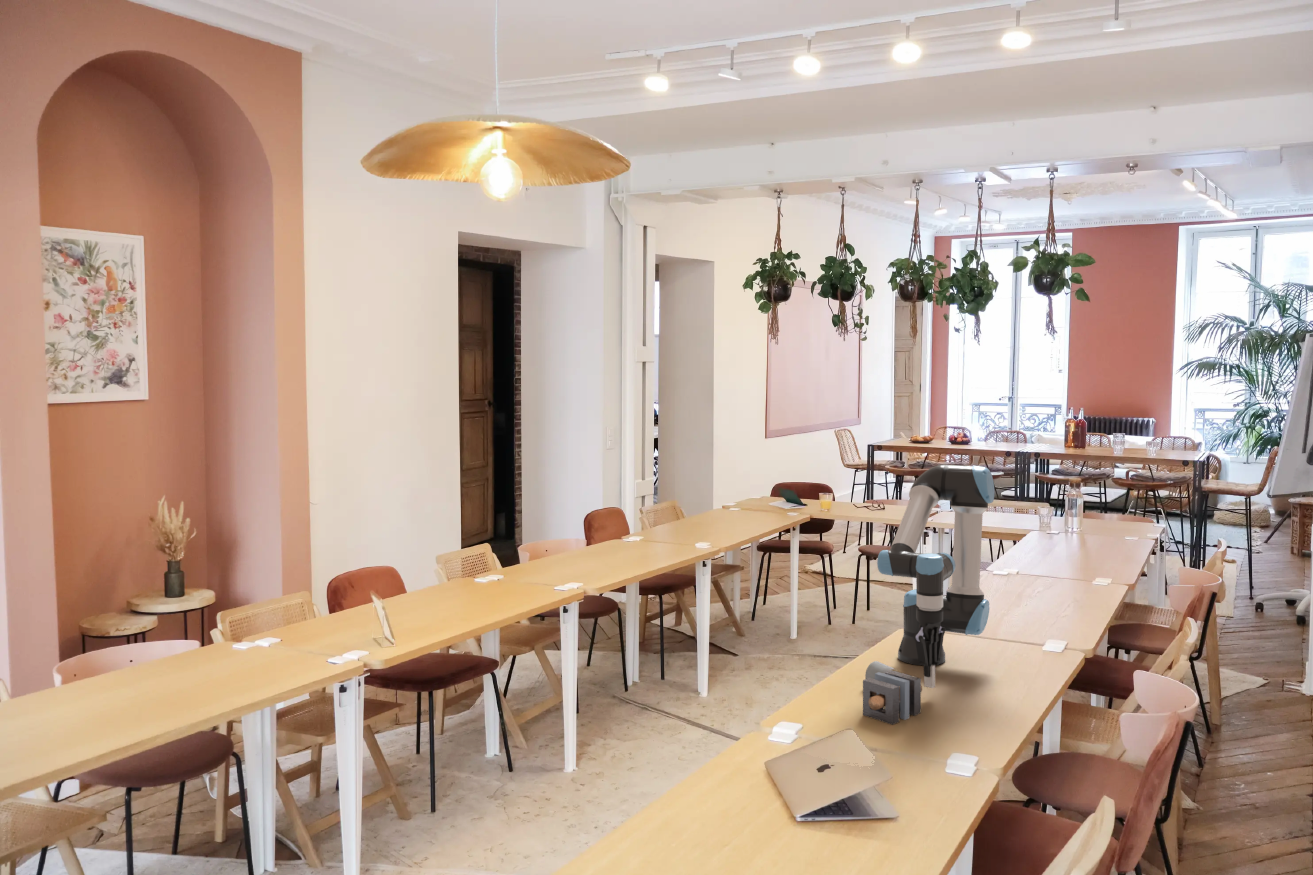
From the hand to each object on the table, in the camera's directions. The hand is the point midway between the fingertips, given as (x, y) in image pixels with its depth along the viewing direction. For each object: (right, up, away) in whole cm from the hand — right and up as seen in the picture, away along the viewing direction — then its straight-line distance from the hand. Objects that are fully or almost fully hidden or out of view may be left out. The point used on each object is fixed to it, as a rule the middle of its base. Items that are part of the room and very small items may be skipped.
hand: (929, 686), depth 286 cm
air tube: (-13, -2, -11) cm, 17 cm away
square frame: (-10, -4, -9) cm, 14 cm away
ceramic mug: (-10, -3, +11) cm, 15 cm away
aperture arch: (-14, -5, -12) cm, 19 cm away
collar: (-18, -5, -15) cm, 24 cm away
